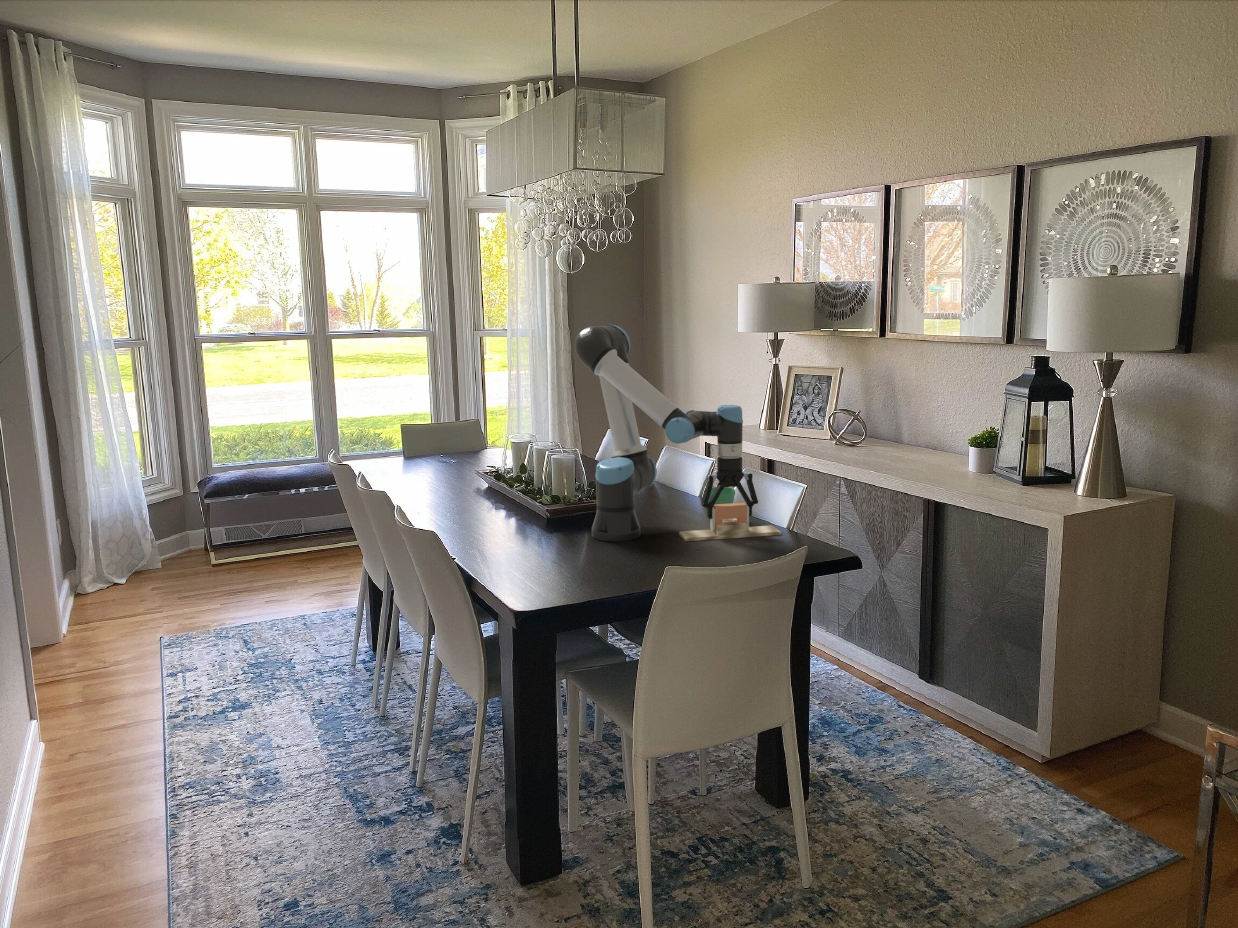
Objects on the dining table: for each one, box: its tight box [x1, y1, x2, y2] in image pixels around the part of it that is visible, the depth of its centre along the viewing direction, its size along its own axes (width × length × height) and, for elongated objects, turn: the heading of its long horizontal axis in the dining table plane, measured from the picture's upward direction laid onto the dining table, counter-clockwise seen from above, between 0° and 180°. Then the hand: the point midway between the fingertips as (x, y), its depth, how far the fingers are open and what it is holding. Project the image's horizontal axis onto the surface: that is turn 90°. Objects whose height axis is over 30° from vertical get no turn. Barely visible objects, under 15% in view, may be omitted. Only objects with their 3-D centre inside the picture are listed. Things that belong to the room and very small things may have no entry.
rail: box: [678, 518, 782, 542], centre depth 283 cm, size 30×8×4 cm, turn 100°
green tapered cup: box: [708, 486, 736, 505], centre depth 303 cm, size 15×10×10 cm
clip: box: [713, 502, 747, 531], centre depth 282 cm, size 10×3×8 cm, turn 100°
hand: (729, 527), depth 283 cm, fingers closed on clip, 10 cm apart
